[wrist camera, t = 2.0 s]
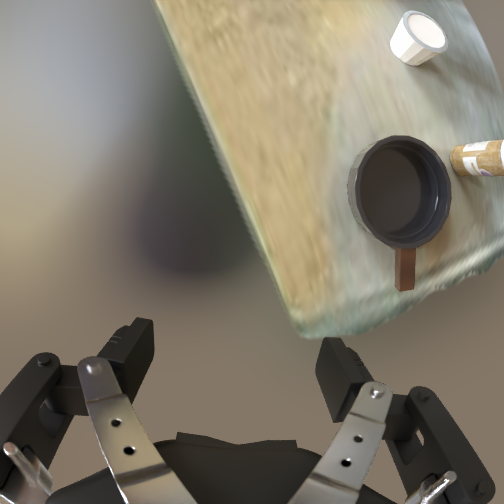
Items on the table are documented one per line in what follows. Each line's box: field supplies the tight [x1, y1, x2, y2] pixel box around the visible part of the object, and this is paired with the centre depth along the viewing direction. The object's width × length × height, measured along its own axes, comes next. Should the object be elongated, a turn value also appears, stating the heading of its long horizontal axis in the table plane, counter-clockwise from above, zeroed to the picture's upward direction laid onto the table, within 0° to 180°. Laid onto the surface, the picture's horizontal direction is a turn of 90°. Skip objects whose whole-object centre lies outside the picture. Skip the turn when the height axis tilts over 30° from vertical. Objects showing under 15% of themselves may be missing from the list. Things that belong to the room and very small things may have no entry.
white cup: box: [391, 10, 448, 66], centre depth 22 cm, size 7×7×7 cm
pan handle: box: [390, 246, 416, 291], centre depth 31 cm, size 6×2×4 cm, turn 8°
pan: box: [347, 136, 452, 249], centre depth 29 cm, size 13×13×4 cm
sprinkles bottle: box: [450, 139, 504, 176], centre depth 22 cm, size 5×5×14 cm
